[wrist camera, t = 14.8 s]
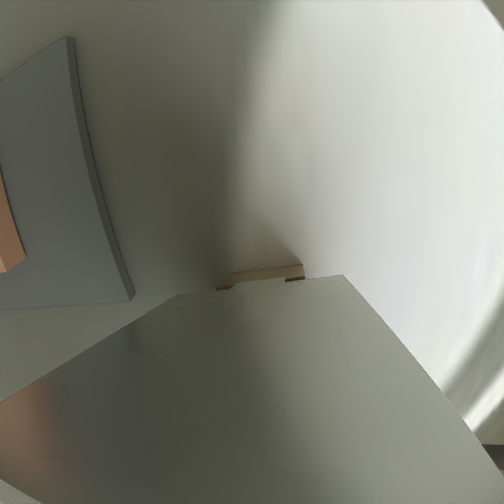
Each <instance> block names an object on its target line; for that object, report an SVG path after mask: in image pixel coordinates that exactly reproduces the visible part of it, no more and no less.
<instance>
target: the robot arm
mask: <svg viewBox="0 0 504 504" xmlns="http://www.w3.org/2000/svg"><path fill="white" fill-rule="evenodd" d="M481 445H482V446H483V448H484V449H485V450H486V452H487V453H488V455H489V456H490V458H491V459H492V460H493V462H494V463H495V465H496V466H497V468H498V469H499V471H500V472H501V474H502V475H503V477H504V445H491V444H481Z"/></svg>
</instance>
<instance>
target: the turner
mask: <svg viewBox="0 0 504 504" xmlns="http://www.w3.org/2000/svg"><path fill="white" fill-rule="evenodd" d="M0 500H1V501H2V502H4V503H5V504H504V477H503V475H502V474H501V472H500V471H499V469H498V468H497V466H496V465H495V463H494V462H493V460H492V459H491V458H490V456H489V455H488V453H487V452H486V450H485V449H484V448H483V446H482V445H481V443H480V442H479V441H478V439H477V438H476V436H475V435H474V434H473V432H472V431H471V430H470V428H469V427H468V426H467V424H466V423H465V422H464V420H463V419H462V417H461V416H460V415H459V414H458V412H457V411H456V410H455V408H454V407H453V406H452V404H451V403H450V402H449V400H448V399H447V398H446V397H445V395H444V394H443V393H442V391H441V390H440V389H439V388H438V386H437V385H436V384H435V382H434V381H433V380H432V379H431V377H430V376H429V375H428V374H427V372H426V371H425V370H424V369H423V367H422V366H421V365H420V364H419V363H418V361H417V360H416V359H415V358H414V356H413V355H412V354H411V353H410V352H409V350H408V349H407V348H406V347H405V345H404V344H403V343H402V342H401V341H400V339H399V338H398V337H397V336H396V335H395V334H394V332H393V331H392V330H391V329H390V328H389V326H388V325H387V324H386V323H385V322H384V321H383V319H382V318H381V317H380V316H379V315H378V314H377V312H376V311H375V310H374V309H373V308H372V307H371V306H370V304H369V303H368V302H367V301H366V300H365V299H364V298H363V296H362V295H361V294H360V293H359V292H358V291H357V290H356V288H355V287H354V286H353V285H352V284H351V283H350V282H349V281H348V280H347V278H346V277H345V276H344V275H343V274H342V275H335V276H328V277H320V278H313V279H306V280H305V276H304V270H303V264H299V265H292V266H285V267H277V268H269V269H262V270H254V271H246V272H238V273H233V274H231V275H230V276H229V277H228V278H226V279H225V280H224V281H223V282H221V283H220V284H219V285H218V286H216V291H207V292H197V293H188V294H178V295H176V296H174V297H172V298H171V299H169V300H167V301H166V302H164V303H163V304H161V305H159V306H158V307H156V308H154V309H153V310H151V311H149V312H148V313H146V314H145V315H143V316H141V317H140V318H138V319H136V320H135V321H133V322H131V323H130V324H128V325H126V326H125V327H123V328H122V329H120V330H118V331H117V332H115V333H113V334H112V335H110V336H108V337H107V338H105V339H104V340H102V341H100V342H99V343H97V344H95V345H94V346H92V347H90V348H89V349H87V350H86V351H84V352H82V353H81V354H79V355H77V356H76V357H74V358H73V359H71V360H69V361H68V362H66V363H64V364H63V365H61V366H59V367H58V368H56V369H55V370H53V371H51V372H50V373H48V374H46V375H45V376H43V377H42V378H40V379H38V380H37V381H35V382H33V383H32V384H30V385H28V386H27V387H25V388H24V389H22V390H20V391H19V392H17V393H15V394H14V395H12V396H11V397H9V398H7V399H6V400H4V401H2V402H1V403H0Z"/></svg>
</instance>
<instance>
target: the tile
mask: <svg viewBox="0 0 504 504" xmlns="http://www.w3.org/2000/svg"><path fill="white" fill-rule="evenodd" d="M25 258H26V256H25V253H24V251H23V248H22V245H21V242H20V239H19V236H18V233H17V230H16V227H15V224H14V221H13V218H12V215H11V211H10V208H9V204H8V201H7V197H6V193H5V190H4V186H3V182H2V177H1V173H0V273H2V272H7V271H8V270H9V269H11V268H12V267H14V266H15V265H16V264H18V263H19V262H21V261H22V260H23V259H25Z"/></svg>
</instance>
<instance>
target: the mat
mask: <svg viewBox="0 0 504 504" xmlns="http://www.w3.org/2000/svg"><path fill="white" fill-rule="evenodd" d="M0 173H1V177H2V182H3V186H4V190H5V193H6V197H7V201H8V204H9V208H10V211H11V215H12V218H13V221H14V224H15V227H16V230H17V233H18V236H19V239H20V242H21V245H22V248H23V251H24V253H25V256H26V258H25V259H23V260H22V261H21V262H19V263H18V264H16V265H15V266H14V267H12V268H11V269H9V270H8V271H7V272H2V273H0V309H18V308H38V307H56V306H71V305H86V304H100V303H112V302H125V301H130V300H131V299H132V298H133V297H134V295H135V292H134V290H133V287H132V284H131V282H130V279H129V276H128V273H127V271H126V268H125V265H124V262H123V259H122V256H121V253H120V250H119V247H118V244H117V241H116V238H115V235H114V232H113V229H112V226H111V222H110V219H109V216H108V212H107V209H106V206H105V202H104V198H103V195H102V191H101V187H100V184H99V180H98V176H97V172H96V168H95V164H94V160H93V155H92V151H91V147H90V142H89V137H88V132H87V127H86V122H85V117H84V112H83V106H82V100H81V94H80V88H79V81H78V73H77V66H76V57H75V48H74V39H73V38H70V37H66V36H65V37H64V38H62V39H60V40H59V41H57V42H55V43H54V44H52V45H51V46H49V47H48V48H46V49H44V50H43V51H41V52H40V53H38V54H37V55H36V56H34V57H33V58H31V59H30V60H28V61H27V62H26V63H24V64H23V65H21V66H20V67H19V68H17V69H16V70H15V71H13V72H12V73H11V74H9V75H8V76H7V77H6V78H4V79H3V80H2V81H1V82H0Z"/></svg>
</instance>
